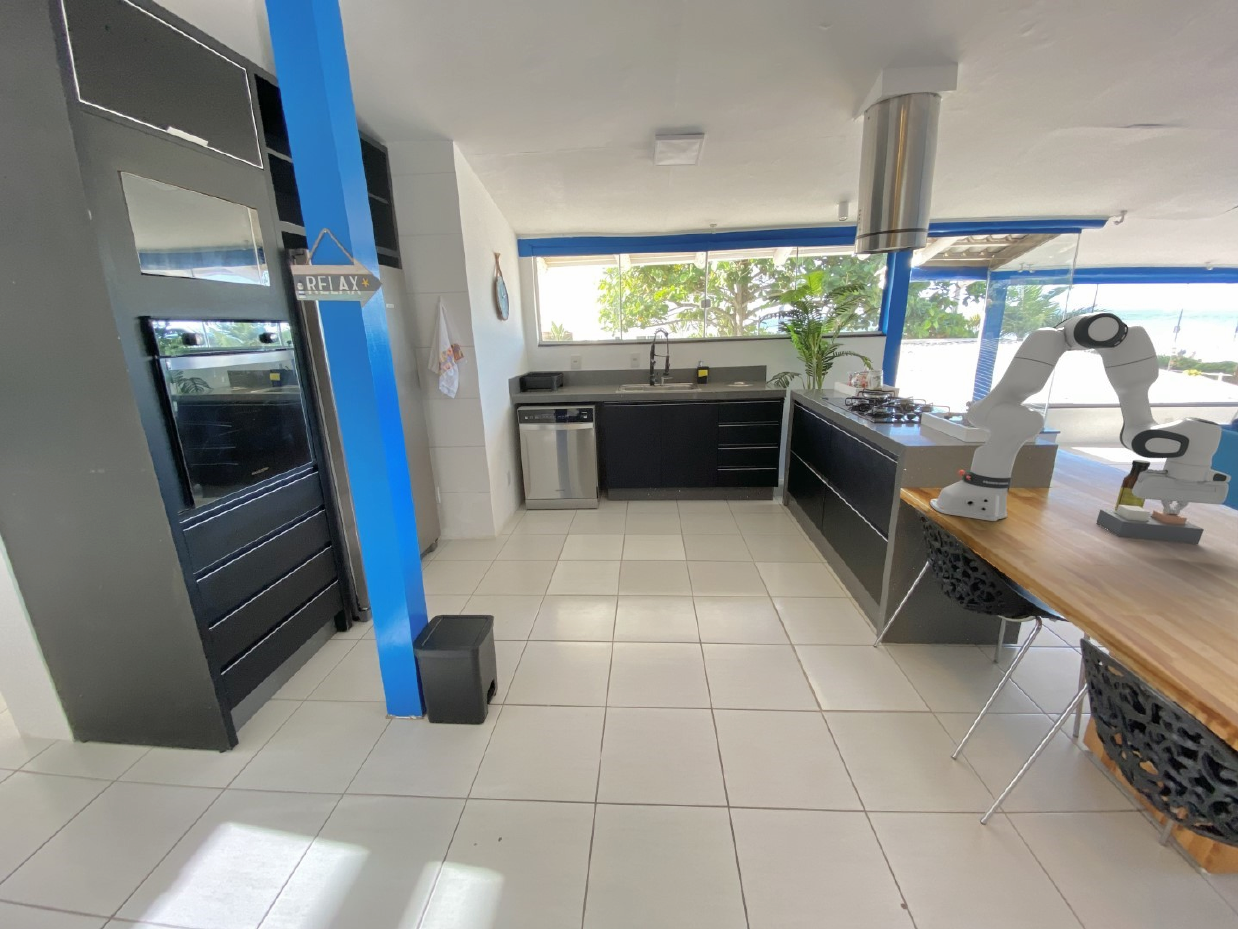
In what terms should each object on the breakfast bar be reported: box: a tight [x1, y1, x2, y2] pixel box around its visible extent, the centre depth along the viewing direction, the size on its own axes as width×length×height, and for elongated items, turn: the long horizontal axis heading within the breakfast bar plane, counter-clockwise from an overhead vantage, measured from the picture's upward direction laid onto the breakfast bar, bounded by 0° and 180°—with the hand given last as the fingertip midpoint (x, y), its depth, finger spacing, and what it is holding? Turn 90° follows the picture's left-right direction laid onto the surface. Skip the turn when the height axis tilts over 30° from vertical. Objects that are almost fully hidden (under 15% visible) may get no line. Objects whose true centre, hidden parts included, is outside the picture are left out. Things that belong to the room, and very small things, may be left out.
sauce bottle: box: [1114, 459, 1151, 511], centre depth 159 cm, size 6×6×20 cm
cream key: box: [1116, 505, 1151, 521], centre depth 148 cm, size 5×5×4 cm
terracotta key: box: [1151, 510, 1188, 525], centre depth 145 cm, size 5×5×4 cm
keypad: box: [1096, 508, 1205, 545], centre depth 147 cm, size 19×11×5 cm, turn 72°
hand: (1170, 513), depth 145 cm, fingers closed, pressing on terracotta key
